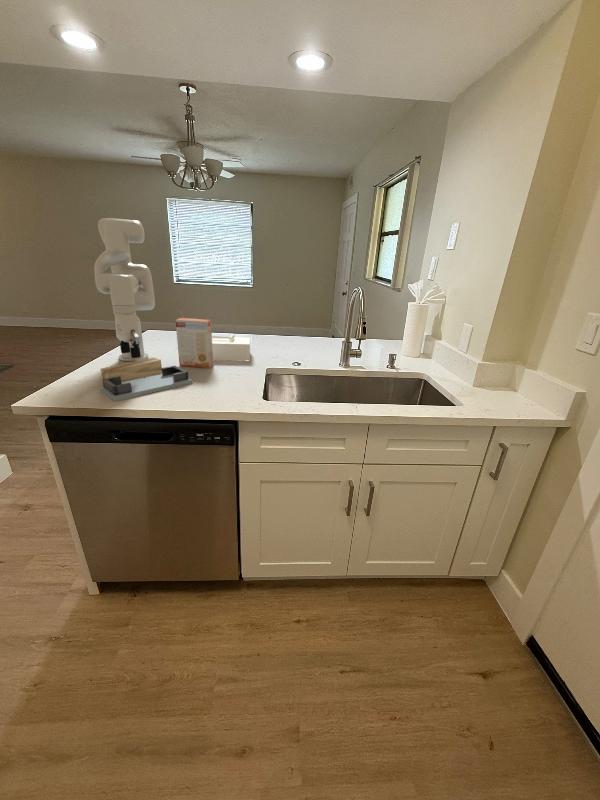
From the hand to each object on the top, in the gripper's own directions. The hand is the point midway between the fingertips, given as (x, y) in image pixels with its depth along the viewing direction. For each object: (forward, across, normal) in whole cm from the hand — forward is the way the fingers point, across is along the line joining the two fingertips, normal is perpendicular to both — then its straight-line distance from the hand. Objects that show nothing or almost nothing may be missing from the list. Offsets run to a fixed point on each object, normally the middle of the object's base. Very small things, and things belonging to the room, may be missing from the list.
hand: (130, 355), depth 131 cm
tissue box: (+9, -6, +47) cm, 49 cm away
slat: (+10, -1, 0) cm, 10 cm away
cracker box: (+9, -1, +28) cm, 30 cm away
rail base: (+10, +12, 0) cm, 15 cm away
